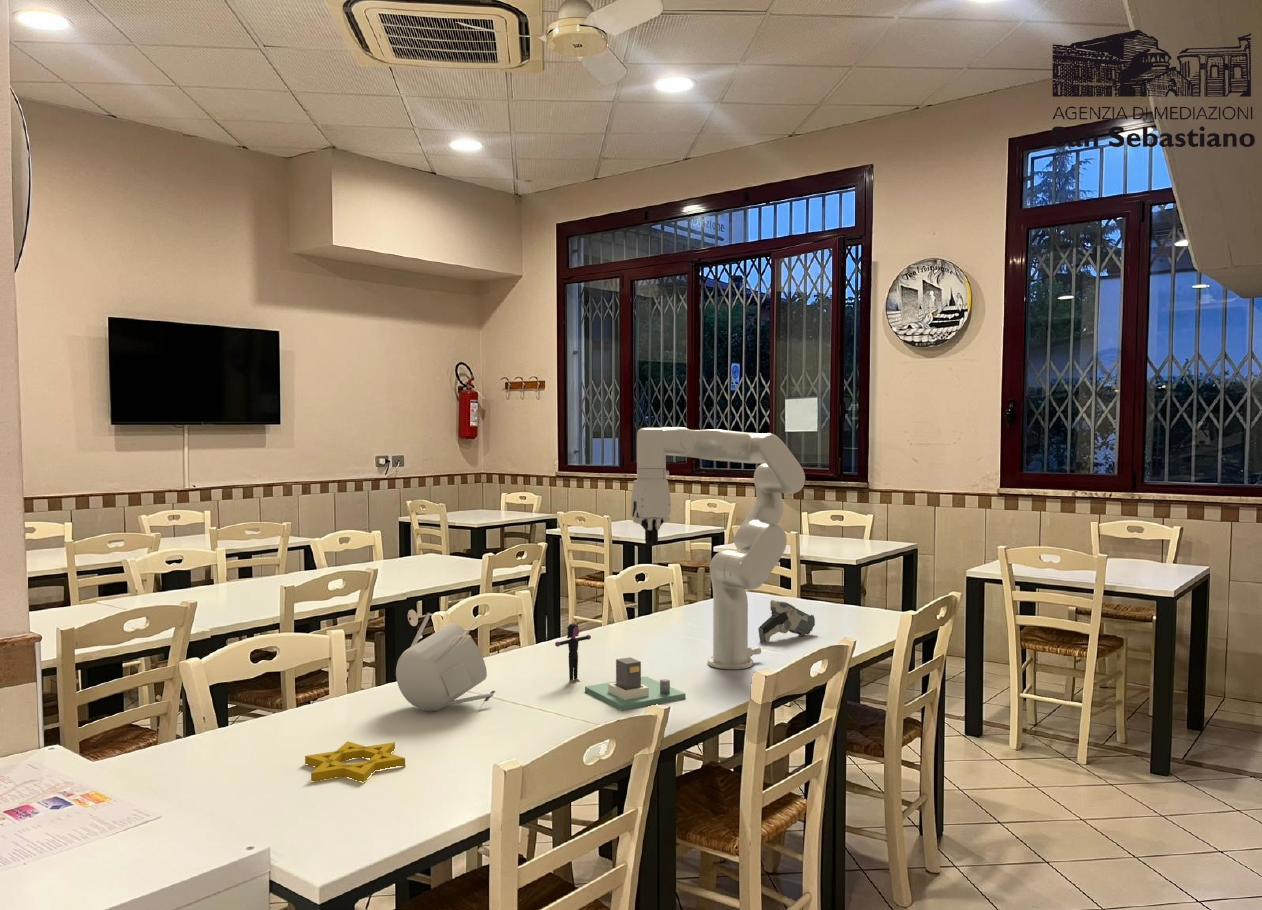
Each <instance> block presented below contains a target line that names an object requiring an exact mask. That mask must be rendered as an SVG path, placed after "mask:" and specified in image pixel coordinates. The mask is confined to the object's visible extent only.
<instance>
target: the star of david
mask: <svg viewBox="0 0 1262 910" xmlns="http://www.w3.org/2000/svg"><path fill="white" fill-rule="evenodd" d="M394 749H395V750H396V742H388V743H380V744H373V745H368V746H365V745H362V744H358V743H355V742H352V741H349V740H348V741H346V742H345V743H343V744H342V745H341V746H340V747H339V748H338V749H337V750H334V751H329V752H322V753H321V752H320V753H316V754H308V755H305V756H304V763H305V764H308V765H310V766H309V767H311V766H315V767H317V768H314V770H313V771H312V772H311V773H310V782H311V781H318V782H321V781H320V780H324V779H330V778H335V777H342V778H344V777H349V778H352V779H354V780H357V781H362V782H364V781H366V780H367V778H368V777H369V776H370V775H371V773H373V772H374V771H375V770H380V769H385V768H390V767H396V766H405V767H406V757H403V756H400V755H396V754H394V753H393V754H391V752H392V751H394ZM362 757H364V758H370V760H365V761H361V762H354V763H344V762H347V761H346V760H349V759H352V758H362ZM342 761H344V762H342ZM305 764H304V765H305ZM308 765H307V766H308ZM330 780H331V779H330ZM324 781H325V780H324ZM367 781H368V780H367ZM367 781H366V782H367Z"/></svg>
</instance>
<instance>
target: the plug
mask: <svg viewBox="0 0 1262 910" xmlns="http://www.w3.org/2000/svg"><path fill="white" fill-rule="evenodd" d="M641 664H642V662H641V661H640V660H638V659H635V658H633V657H624V658H623V657H622V658H616V660H615V681H616V686H618V687H620V688H622V689H624V690H631V689H636V688H641V677H642V665H641Z"/></svg>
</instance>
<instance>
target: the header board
mask: <svg viewBox="0 0 1262 910" xmlns="http://www.w3.org/2000/svg"><path fill="white" fill-rule="evenodd" d="M584 692H585V693H588V694H589V695H591V696H593V697H595V698H597V699H599V700H601V701H603V702H605V703H607V704H609V705H610V706H613V707H614V708H616V709H619V710H620V711H625V710H630V709H636V708H640V707H641V708H642V707H646V706H652V705H651V704H653V705H657V704H663V703H667V702H668V701H669V702H672V701H671V700H674V701H677V700H676V699H679V700H685V699H686V693H685V692H683V691H682V690H679V689H676V688H674V687H672V686H671V680H670V679H666V678H664V679H660V681H657V680H655V679H653V678H651V677H649V676H641V688H636V689H631V690H624V689H622V688H620V687H618V686H616V680H615V681H610V682H603V683H597V684H592V685H587V686H584ZM684 698H685V699H684Z"/></svg>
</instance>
